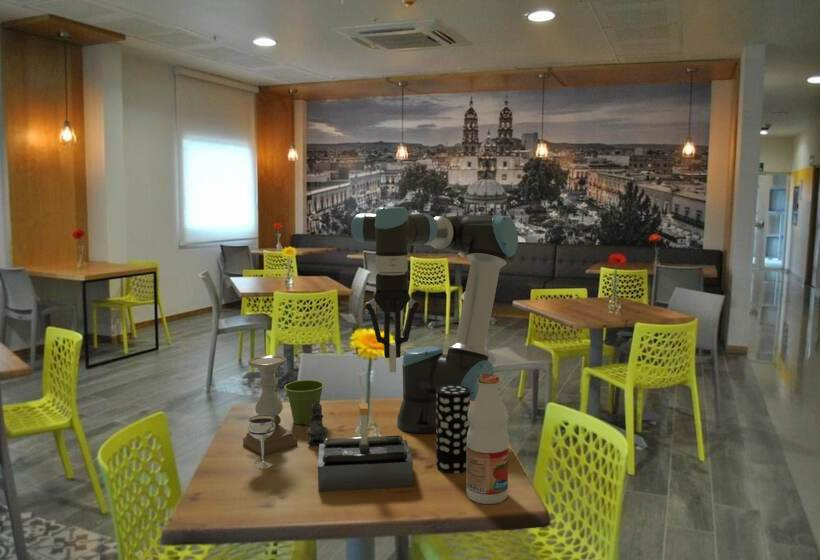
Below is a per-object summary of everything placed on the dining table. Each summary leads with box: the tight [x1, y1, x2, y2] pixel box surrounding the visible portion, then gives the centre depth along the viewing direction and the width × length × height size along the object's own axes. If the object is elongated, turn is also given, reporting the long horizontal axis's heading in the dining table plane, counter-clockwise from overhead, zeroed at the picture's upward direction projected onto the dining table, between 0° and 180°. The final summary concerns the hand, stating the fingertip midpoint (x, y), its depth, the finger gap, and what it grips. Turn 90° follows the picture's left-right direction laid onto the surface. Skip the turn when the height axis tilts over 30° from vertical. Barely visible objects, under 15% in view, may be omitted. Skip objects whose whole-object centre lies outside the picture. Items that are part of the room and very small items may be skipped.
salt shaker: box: [306, 400, 329, 447], centre depth 184 cm, size 6×6×12 cm
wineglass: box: [247, 414, 275, 470], centre depth 169 cm, size 7×7×12 cm
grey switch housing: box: [317, 435, 414, 492], centre depth 162 cm, size 22×14×8 cm, turn 96°
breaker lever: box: [358, 402, 370, 454], centre depth 161 cm, size 2×4×11 cm, turn 6°
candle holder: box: [242, 355, 298, 456], centre depth 181 cm, size 11×11×24 cm
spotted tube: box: [435, 385, 471, 474], centre depth 166 cm, size 8×8×20 cm
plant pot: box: [283, 379, 325, 426], centre depth 200 cm, size 12×12×11 cm
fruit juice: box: [465, 374, 510, 505], centre depth 150 cm, size 9×9×28 cm
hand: (392, 370), depth 159 cm, fingers closed
